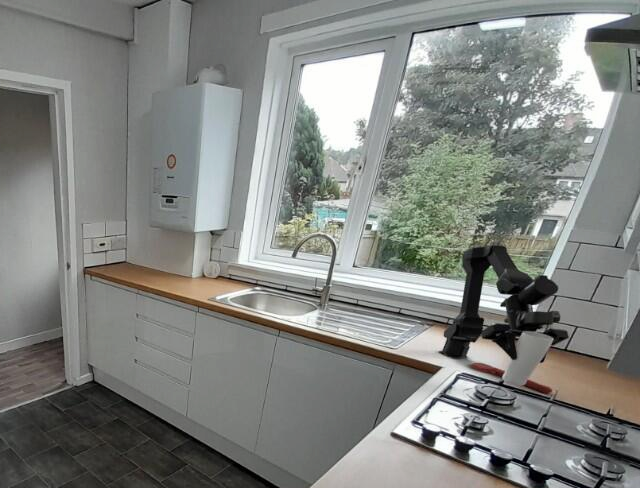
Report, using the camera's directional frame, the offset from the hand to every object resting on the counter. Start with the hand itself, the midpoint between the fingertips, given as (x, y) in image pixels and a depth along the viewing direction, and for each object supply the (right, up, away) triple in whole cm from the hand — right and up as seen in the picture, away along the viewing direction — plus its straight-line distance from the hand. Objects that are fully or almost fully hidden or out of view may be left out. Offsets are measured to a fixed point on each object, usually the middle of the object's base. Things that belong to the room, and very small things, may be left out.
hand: (528, 360), depth 116 cm
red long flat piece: (+10, -6, +16) cm, 20 cm away
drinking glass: (0, -6, +4) cm, 8 cm away
